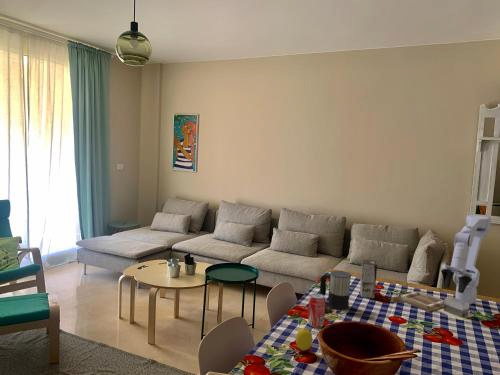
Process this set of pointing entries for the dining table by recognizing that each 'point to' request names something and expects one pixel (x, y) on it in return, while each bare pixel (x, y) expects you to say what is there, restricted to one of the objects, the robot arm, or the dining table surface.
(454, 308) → the housing
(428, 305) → the square wooden tray
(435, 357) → the dining table surface
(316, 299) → the soda can
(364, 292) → the coffee box
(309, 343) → the lemon
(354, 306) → the dining table surface
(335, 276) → the milk frother
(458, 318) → the stand
